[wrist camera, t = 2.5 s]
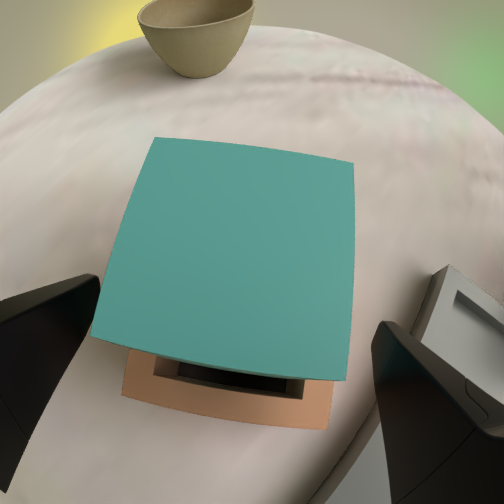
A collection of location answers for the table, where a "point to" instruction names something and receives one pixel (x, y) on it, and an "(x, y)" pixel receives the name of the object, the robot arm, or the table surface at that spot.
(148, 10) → the flower pot
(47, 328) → the robot arm
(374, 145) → the table surface
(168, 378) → the holder
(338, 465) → the tray
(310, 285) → the teal block
